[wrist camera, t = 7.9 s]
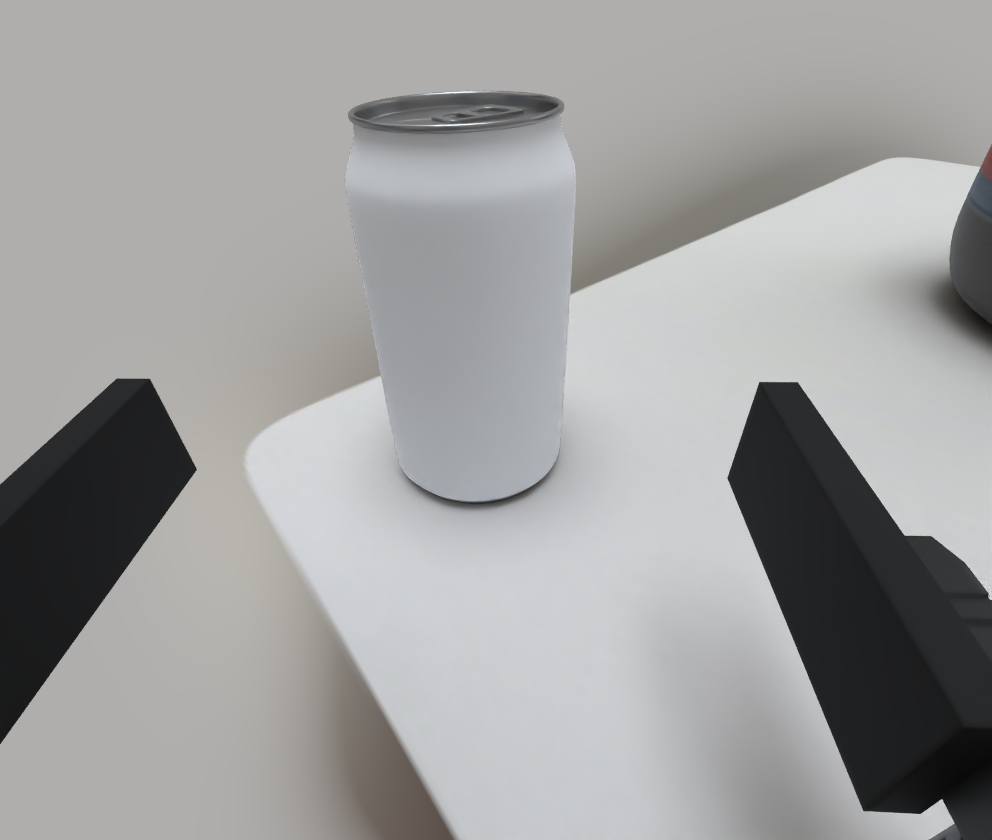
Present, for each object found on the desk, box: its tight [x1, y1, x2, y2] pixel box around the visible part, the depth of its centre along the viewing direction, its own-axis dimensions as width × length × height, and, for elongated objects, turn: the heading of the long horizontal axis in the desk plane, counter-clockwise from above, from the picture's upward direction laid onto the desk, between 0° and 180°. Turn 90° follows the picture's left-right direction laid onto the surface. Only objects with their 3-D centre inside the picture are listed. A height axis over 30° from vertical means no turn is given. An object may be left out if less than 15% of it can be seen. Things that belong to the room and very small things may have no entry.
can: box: [345, 91, 576, 503], centre depth 18 cm, size 6×6×12 cm
